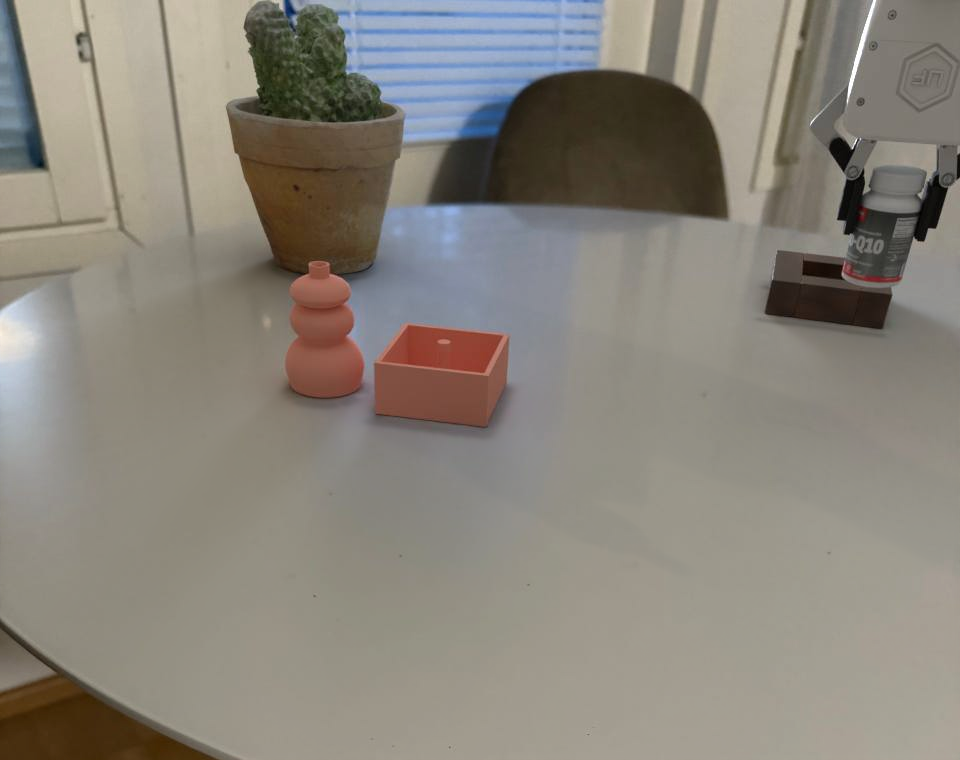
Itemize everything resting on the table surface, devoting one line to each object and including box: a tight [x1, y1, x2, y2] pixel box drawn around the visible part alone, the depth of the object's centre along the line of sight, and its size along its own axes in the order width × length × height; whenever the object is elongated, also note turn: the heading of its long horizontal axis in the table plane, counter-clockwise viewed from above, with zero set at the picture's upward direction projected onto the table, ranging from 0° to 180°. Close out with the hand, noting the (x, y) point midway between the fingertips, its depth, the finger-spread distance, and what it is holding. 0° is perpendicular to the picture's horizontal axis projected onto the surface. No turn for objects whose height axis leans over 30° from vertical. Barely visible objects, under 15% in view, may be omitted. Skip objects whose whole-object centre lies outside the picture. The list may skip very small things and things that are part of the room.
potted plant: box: [225, 0, 407, 276], centre depth 101 cm, size 18×19×25 cm
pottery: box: [284, 261, 510, 428], centre depth 77 cm, size 18×10×10 cm, turn 79°
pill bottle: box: [842, 164, 928, 288], centre depth 76 cm, size 5×5×8 cm
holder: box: [764, 249, 893, 329], centre depth 103 cm, size 12×12×4 cm
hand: (883, 231), depth 77 cm, fingers closed on pill bottle, 4 cm apart
